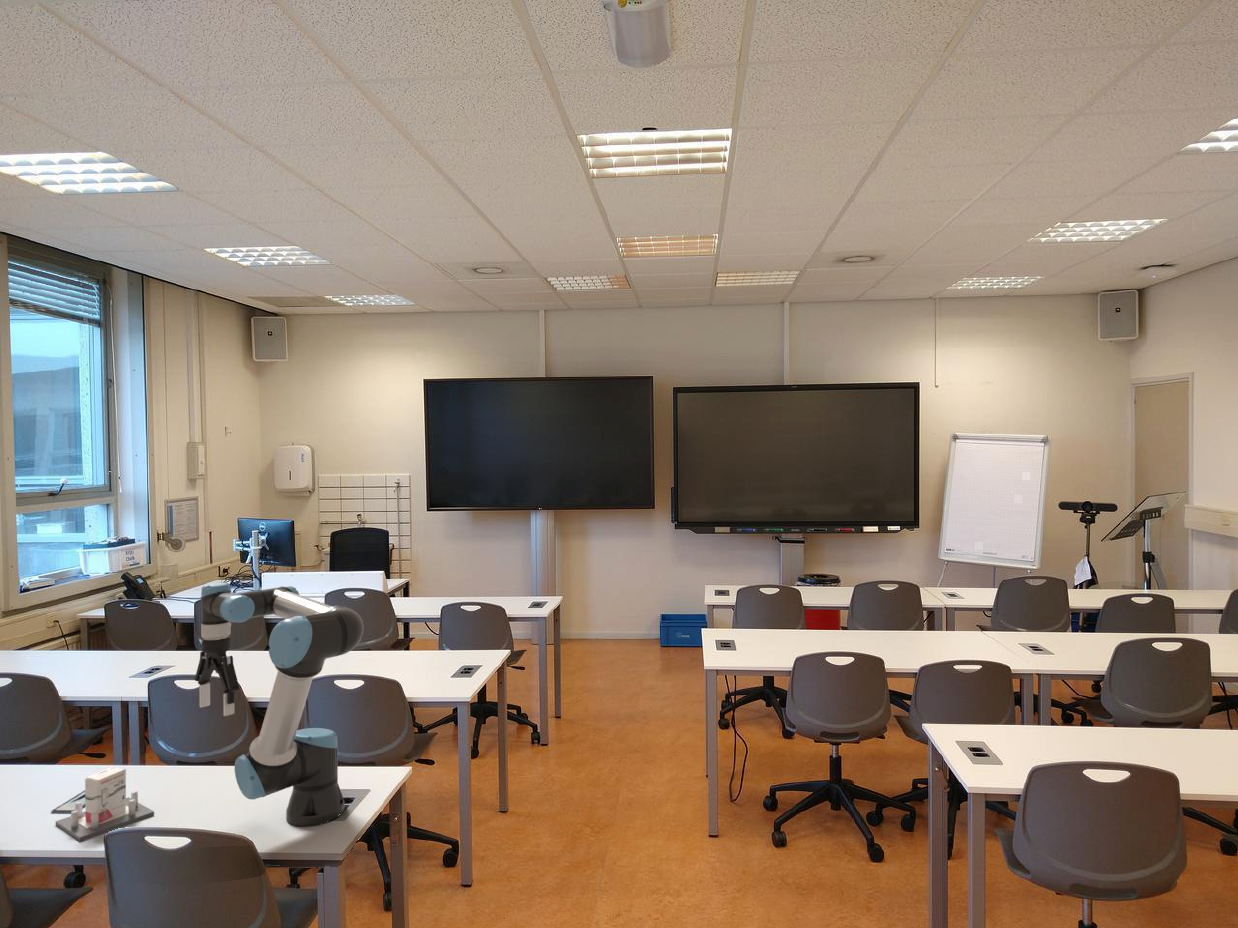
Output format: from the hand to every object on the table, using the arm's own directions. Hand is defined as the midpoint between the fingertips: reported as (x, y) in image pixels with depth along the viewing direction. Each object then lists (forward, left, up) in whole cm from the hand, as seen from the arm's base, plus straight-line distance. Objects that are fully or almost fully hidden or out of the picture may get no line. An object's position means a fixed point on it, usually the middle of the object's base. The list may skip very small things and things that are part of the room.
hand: (216, 710), depth 220 cm
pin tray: (+15, +23, -27) cm, 38 cm away
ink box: (+15, +23, -26) cm, 38 cm away
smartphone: (+34, +22, -27) cm, 49 cm away
